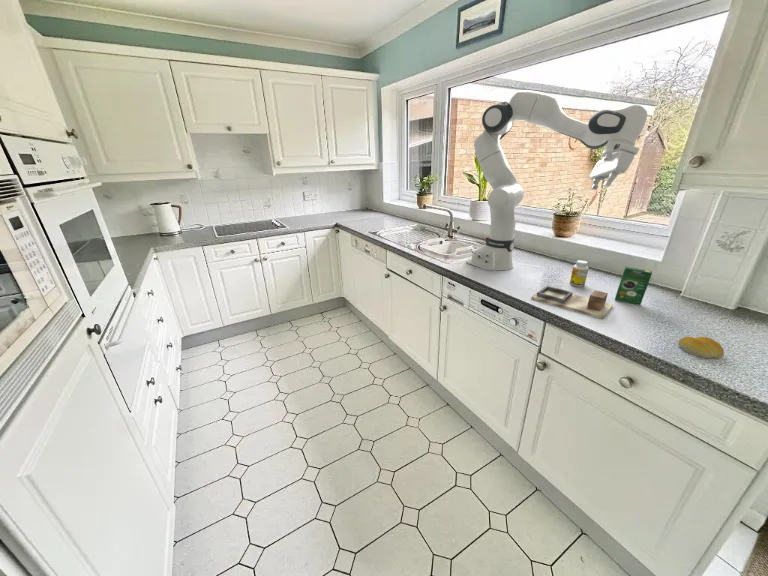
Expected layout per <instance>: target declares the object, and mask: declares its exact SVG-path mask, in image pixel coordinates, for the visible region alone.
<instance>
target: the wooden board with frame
mask: <svg viewBox="0 0 768 576" xmlns="http://www.w3.org/2000/svg"><path fill="white" fill-rule="evenodd" d="M608 295H609V294H608V292H604V291H601V290H597V289H594V291H593V292H592V293H590V295H589V297H586V296H581V295H578V294H574V293H573V291H570V290H566V289H561V288H558V287H554V286H550V285H545V286H544V287H542V288H541V289H540V290H538V291H537V292H536V293H534V294H533V295H531V300H533V299H534V301H537V302H540V301H541V303H545V304H547V303H548V305H551V304H552V305H551V306H555V307H559V308H561V307H562V308H561V309H565V310H567V311H573V312H575V313H579V314H583V315H585V316H590V317H593V318H597V319H601V320H604V318H605V317H606V316H607V315H608V314H609V312H610V311H611V310H612V308H613V307H614V304H613V303H610V302H606V301H607V297H608Z"/></svg>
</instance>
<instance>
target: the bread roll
mask: <svg viewBox="0 0 768 576" xmlns="http://www.w3.org/2000/svg"><path fill="white" fill-rule="evenodd" d="M678 346H679V348H680V349H681V350H682V351H683V350H684V351H683V352H685V351H686V352H685V353H687V352H688V353H687V354H689V353H690V354H689V355H692V354H693V355H692V356H694V355H696V356H695V357H697V356H698V358H701V357H702V359H714V358H715V359H714V360H717V359H721V358H722V357H724V354H725V352H724V351H725V350H724V349H723V347H722V345H721V344H720V343H719V342H718V341H716V340H715V339H712V338H710V337H706V336H698V337H693V336H684V337H681V338H680V339H679V341H678ZM716 358H717V359H716Z"/></svg>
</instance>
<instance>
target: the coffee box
mask: <svg viewBox="0 0 768 576" xmlns="http://www.w3.org/2000/svg"><path fill="white" fill-rule="evenodd" d="M652 274H653V272H652V270H649V269H648V270H647V269H641V268H638V267H630V266H625V267H624V270H623V273H622V275H621V276H622V277H620V278H621V279H620V281H619V285H618V288H617V291H616V294H615V298H614V301H617V302H620V303H628V304H631V305H636V306H641V305H642V302H643V300H644V296H645V293H646V291H647V288H648V285H649V282H650V279H651V277H652Z"/></svg>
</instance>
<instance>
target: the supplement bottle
mask: <svg viewBox="0 0 768 576" xmlns="http://www.w3.org/2000/svg"><path fill="white" fill-rule="evenodd" d="M588 273H589V266H588V261H586V260H581V259H579V260H576V263H575V264H573V266H572V270H571V276H570V279H569V284H570V285H572V286H574V287H583V286H585V285H586V281H587V277H588Z"/></svg>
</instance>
